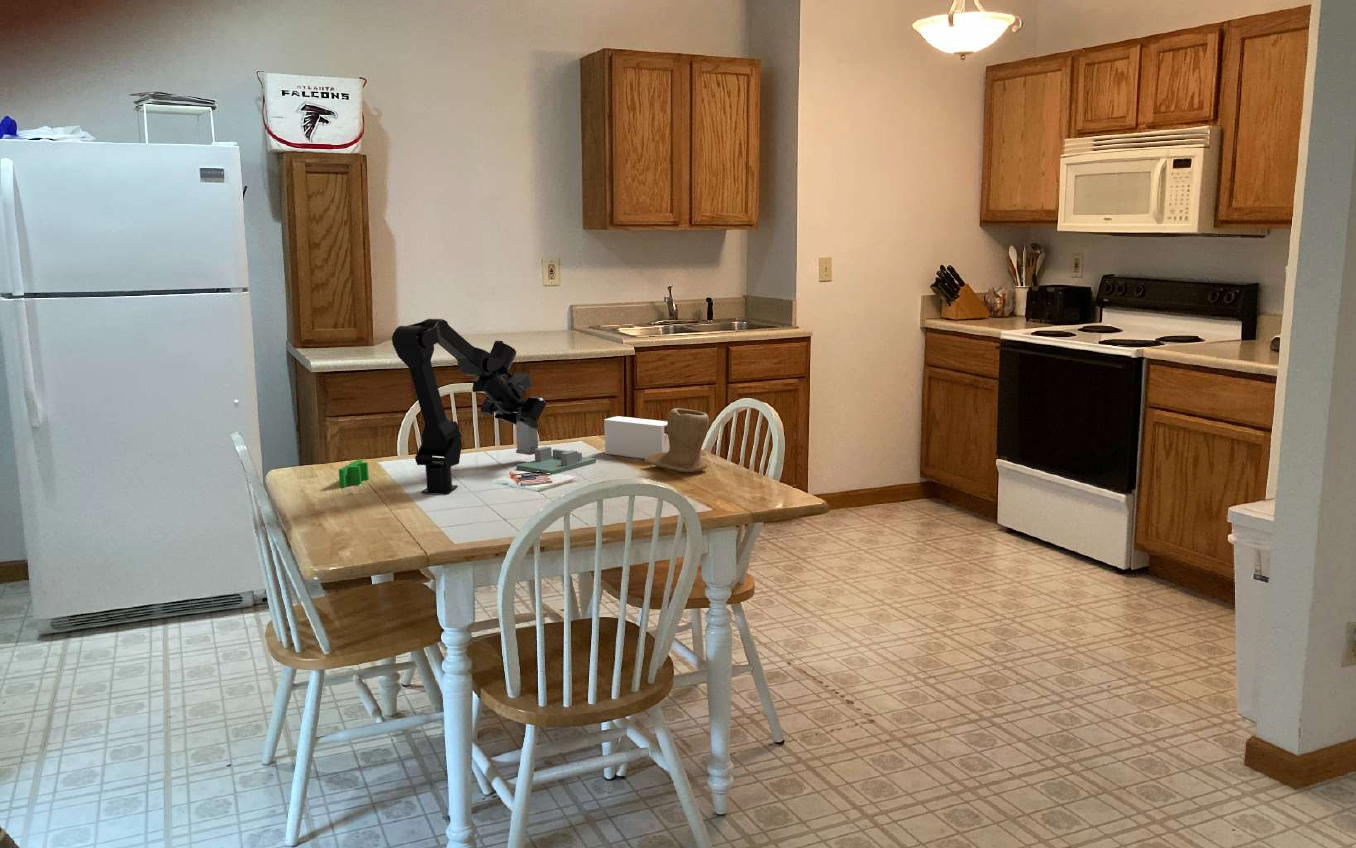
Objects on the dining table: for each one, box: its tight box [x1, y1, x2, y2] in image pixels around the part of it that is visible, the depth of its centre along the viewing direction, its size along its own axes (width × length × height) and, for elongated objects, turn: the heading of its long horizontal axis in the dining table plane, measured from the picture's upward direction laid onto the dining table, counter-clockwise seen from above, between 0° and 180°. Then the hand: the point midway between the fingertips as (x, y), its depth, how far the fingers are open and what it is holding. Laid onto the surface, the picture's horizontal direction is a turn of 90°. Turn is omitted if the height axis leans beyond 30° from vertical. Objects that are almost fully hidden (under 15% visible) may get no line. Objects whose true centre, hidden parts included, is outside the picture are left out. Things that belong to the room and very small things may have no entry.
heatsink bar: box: [515, 411, 539, 456], centre depth 278 cm, size 3×5×13 cm
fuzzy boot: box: [643, 407, 710, 473], centre depth 266 cm, size 15×12×15 cm
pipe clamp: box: [338, 459, 370, 489], centre depth 261 cm, size 11×4×5 cm, turn 173°
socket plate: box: [516, 446, 597, 475], centre depth 274 cm, size 16×12×4 cm
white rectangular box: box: [603, 415, 669, 460], centre depth 283 cm, size 20×6×9 cm, turn 54°
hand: (530, 426), depth 279 cm, fingers closed on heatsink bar, 4 cm apart
